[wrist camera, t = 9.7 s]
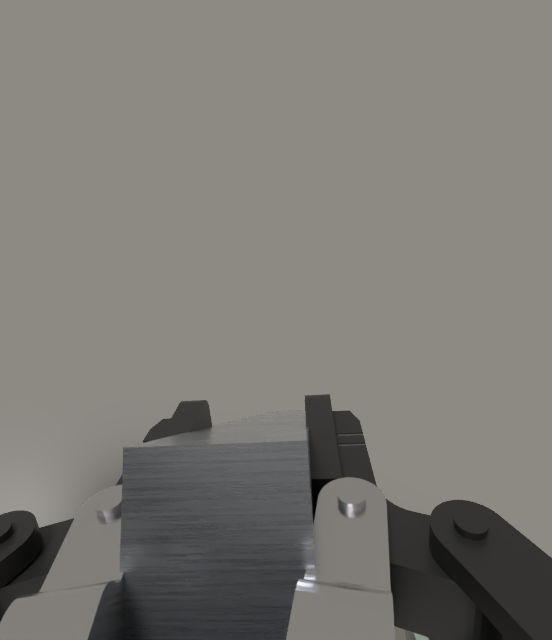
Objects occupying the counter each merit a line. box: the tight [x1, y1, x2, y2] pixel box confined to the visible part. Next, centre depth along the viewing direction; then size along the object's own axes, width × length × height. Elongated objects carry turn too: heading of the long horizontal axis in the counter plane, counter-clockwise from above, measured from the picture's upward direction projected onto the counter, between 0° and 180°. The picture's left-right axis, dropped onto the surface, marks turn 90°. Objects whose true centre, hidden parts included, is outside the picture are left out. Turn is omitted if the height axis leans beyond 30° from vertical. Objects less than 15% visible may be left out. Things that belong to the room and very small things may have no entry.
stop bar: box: [120, 410, 315, 640], centre depth 18 cm, size 3×24×3 cm, turn 175°
